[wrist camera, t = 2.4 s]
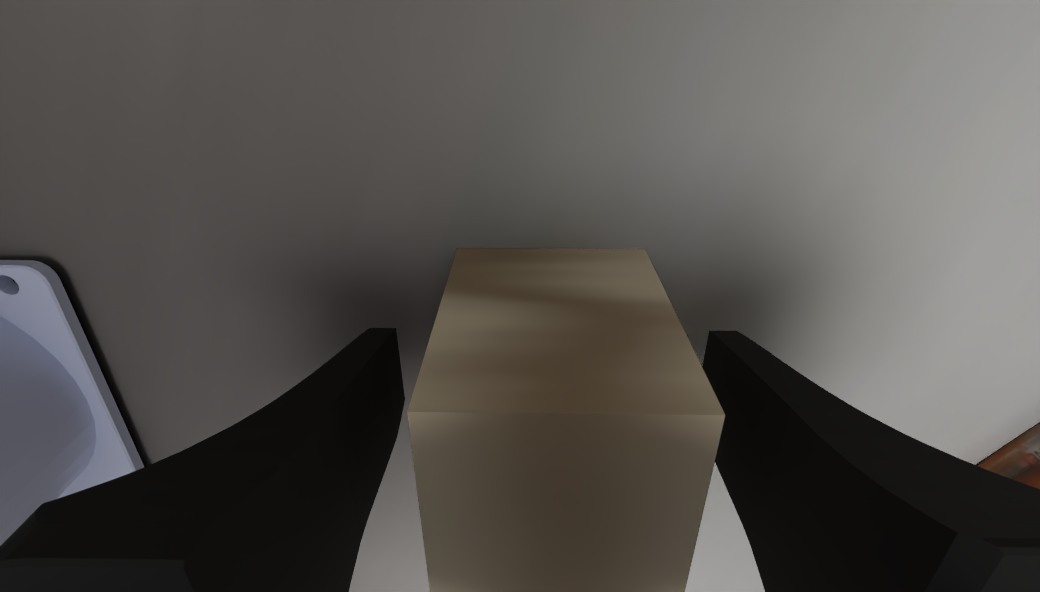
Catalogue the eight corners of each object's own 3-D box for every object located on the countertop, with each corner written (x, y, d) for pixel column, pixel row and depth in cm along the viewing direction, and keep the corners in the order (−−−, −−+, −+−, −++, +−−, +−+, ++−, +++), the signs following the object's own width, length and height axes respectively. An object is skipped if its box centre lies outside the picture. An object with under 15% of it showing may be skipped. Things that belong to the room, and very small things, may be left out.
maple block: (466, 395, 15) (431, 605, 10) (457, 247, 13) (406, 411, 8) (627, 397, 15) (680, 609, 10) (644, 248, 13) (724, 415, 8)
